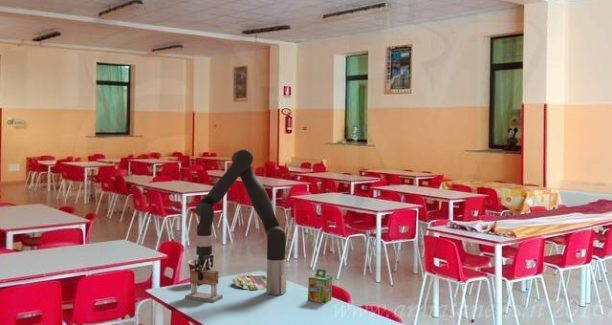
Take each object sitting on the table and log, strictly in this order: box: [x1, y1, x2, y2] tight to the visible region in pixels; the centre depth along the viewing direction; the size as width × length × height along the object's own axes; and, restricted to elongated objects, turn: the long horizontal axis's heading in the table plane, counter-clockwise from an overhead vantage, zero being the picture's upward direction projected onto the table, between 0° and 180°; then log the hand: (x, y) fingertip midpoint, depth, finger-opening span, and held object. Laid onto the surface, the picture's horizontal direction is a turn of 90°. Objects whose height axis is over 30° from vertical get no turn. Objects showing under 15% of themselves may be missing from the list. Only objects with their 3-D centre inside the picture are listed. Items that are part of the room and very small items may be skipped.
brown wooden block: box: [189, 269, 219, 286], centre depth 290 cm, size 4×13×6 cm, turn 68°
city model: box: [231, 273, 267, 291], centre depth 318 cm, size 25×24×6 cm
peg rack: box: [184, 283, 223, 303], centre depth 290 cm, size 16×8×8 cm, turn 68°
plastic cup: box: [187, 259, 206, 286], centre depth 317 cm, size 11×11×12 cm
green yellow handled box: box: [307, 268, 333, 304], centre depth 291 cm, size 9×9×15 cm
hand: (204, 278), depth 290 cm, fingers open, 6 cm apart
